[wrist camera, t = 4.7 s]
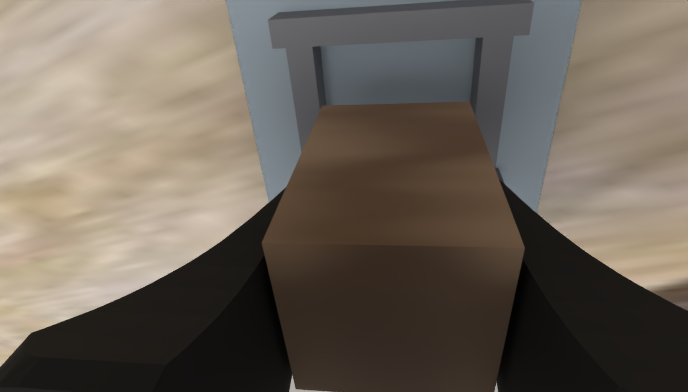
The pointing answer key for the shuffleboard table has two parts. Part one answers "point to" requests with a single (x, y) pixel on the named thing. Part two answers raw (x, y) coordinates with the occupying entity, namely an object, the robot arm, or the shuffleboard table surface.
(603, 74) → the shuffleboard table surface
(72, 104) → the shuffleboard table surface
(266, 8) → the board
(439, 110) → the block
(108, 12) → the shuffleboard table surface
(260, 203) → the shuffleboard table surface
